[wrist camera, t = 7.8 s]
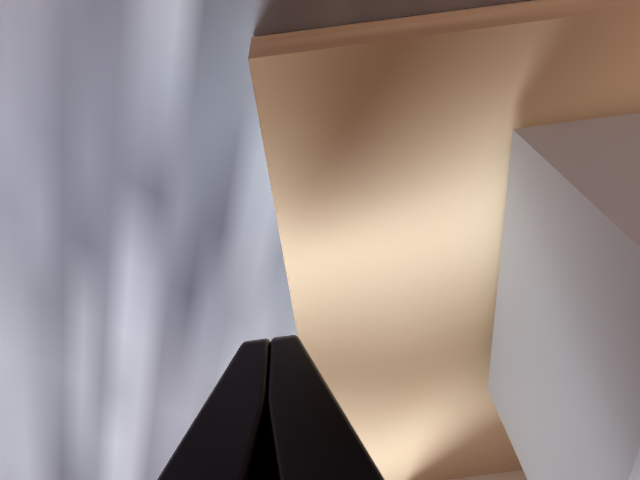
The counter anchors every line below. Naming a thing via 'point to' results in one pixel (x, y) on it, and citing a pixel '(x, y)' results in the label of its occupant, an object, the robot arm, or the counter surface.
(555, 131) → the light grey block
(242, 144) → the counter surface
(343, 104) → the gauge base
